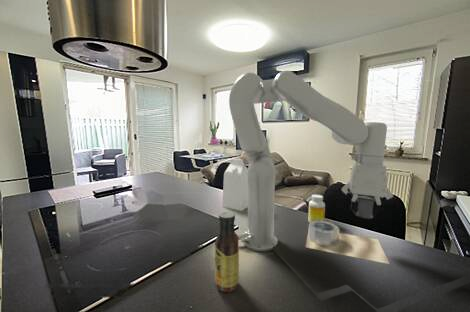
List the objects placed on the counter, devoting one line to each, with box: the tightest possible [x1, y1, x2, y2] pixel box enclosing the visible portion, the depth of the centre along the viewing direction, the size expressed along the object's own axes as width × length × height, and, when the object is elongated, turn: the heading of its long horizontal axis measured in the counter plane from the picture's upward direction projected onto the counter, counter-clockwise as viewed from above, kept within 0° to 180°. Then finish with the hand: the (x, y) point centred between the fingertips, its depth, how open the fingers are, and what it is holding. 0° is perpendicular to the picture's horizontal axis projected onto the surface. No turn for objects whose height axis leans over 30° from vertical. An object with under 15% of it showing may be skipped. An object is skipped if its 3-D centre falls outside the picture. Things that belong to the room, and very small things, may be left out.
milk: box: [222, 158, 248, 212], centre depth 116 cm, size 12×12×26 cm
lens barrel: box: [307, 220, 340, 247], centre depth 77 cm, size 10×10×5 cm
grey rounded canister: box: [354, 195, 375, 220], centre depth 71 cm, size 5×5×6 cm
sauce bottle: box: [214, 211, 240, 293], centre depth 55 cm, size 6×6×20 cm
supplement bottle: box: [307, 194, 326, 223], centre depth 92 cm, size 7×7×13 cm
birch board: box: [305, 229, 390, 265], centre depth 75 cm, size 24×16×1 cm, turn 67°
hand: (363, 213), depth 71 cm, fingers closed on grey rounded canister, 5 cm apart
